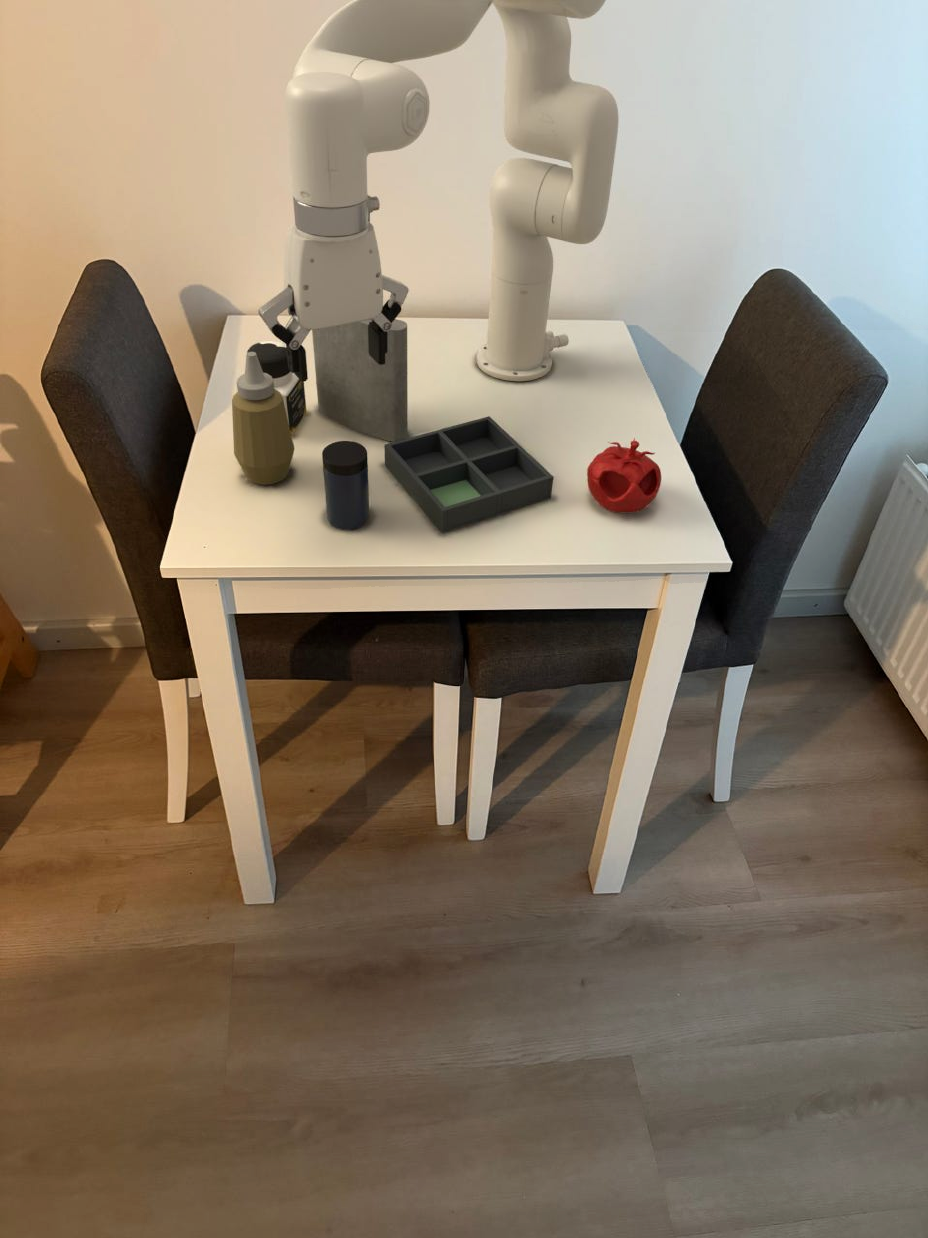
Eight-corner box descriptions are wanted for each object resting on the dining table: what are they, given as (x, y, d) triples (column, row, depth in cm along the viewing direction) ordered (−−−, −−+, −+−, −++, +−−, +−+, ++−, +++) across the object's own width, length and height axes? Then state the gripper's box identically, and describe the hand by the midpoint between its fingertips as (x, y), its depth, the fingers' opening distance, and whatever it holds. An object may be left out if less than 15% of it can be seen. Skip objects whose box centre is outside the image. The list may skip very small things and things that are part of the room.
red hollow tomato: (578, 478, 126) (587, 421, 120) (647, 478, 127) (660, 421, 120) (590, 521, 119) (600, 463, 113) (663, 521, 120) (677, 463, 113)
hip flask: (411, 435, 132) (411, 305, 118) (395, 447, 130) (394, 316, 116) (327, 401, 138) (318, 274, 124) (310, 413, 136) (299, 284, 122)
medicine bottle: (291, 437, 130) (283, 362, 122) (245, 430, 131) (234, 355, 123) (307, 412, 136) (300, 339, 127) (262, 406, 136) (253, 332, 128)
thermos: (358, 499, 120) (355, 436, 113) (376, 522, 117) (374, 458, 110) (320, 511, 118) (314, 447, 111) (337, 534, 115) (333, 470, 108)
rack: (487, 437, 133) (489, 415, 130) (551, 498, 122) (554, 476, 120) (384, 465, 126) (384, 444, 124) (442, 533, 116) (442, 511, 113)
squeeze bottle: (270, 497, 120) (253, 376, 107) (225, 477, 123) (204, 357, 110) (308, 469, 125) (297, 350, 112) (264, 450, 128) (248, 332, 115)
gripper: (391, 192, 97) (392, 340, 109) (237, 213, 90) (256, 368, 102) (423, 215, 92) (420, 367, 104) (263, 239, 86) (280, 398, 97)
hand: (339, 367), depth 103 cm, fingers open, 9 cm apart
